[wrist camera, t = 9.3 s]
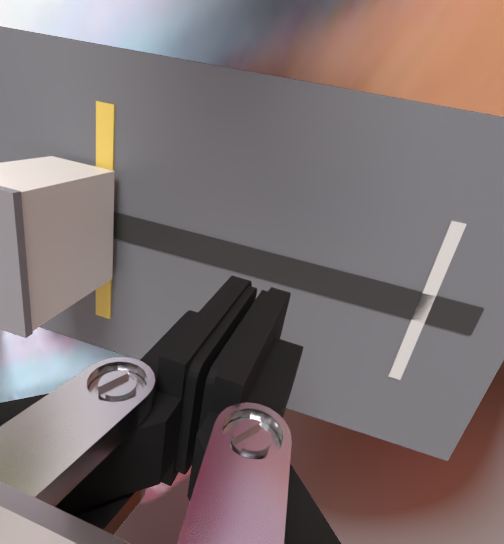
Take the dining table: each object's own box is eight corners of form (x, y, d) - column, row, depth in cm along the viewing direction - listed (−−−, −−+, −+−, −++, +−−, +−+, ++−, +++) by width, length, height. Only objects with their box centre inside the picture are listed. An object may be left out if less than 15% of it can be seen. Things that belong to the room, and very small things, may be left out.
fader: (115, 170, 16) (12, 193, 11) (113, 279, 18) (25, 337, 13) (50, 154, 16) (-74, 170, 12) (55, 263, 18) (-48, 313, 14)
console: (582, 135, 14) (628, 139, 11) (437, 421, 20) (448, 462, 17) (32, 35, 18) (-18, 22, 15) (48, 299, 23) (13, 319, 21)
